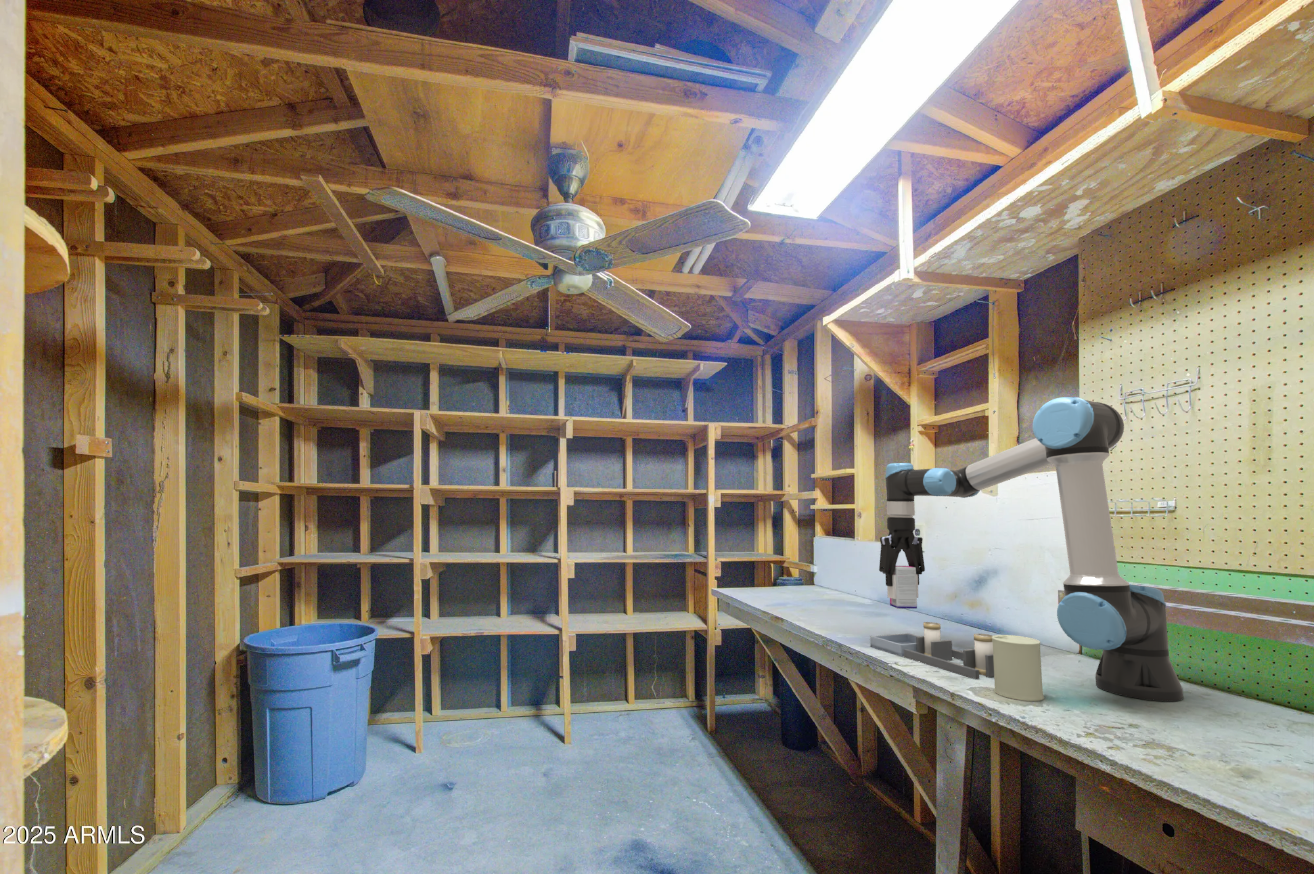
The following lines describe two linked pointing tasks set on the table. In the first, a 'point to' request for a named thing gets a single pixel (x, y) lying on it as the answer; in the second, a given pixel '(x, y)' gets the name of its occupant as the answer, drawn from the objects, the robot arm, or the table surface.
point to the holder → (949, 658)
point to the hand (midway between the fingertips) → (903, 597)
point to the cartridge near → (982, 651)
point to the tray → (894, 643)
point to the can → (1017, 667)
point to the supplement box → (905, 588)
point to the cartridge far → (931, 635)
